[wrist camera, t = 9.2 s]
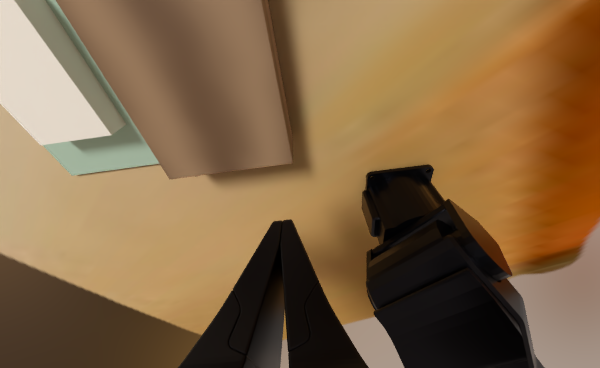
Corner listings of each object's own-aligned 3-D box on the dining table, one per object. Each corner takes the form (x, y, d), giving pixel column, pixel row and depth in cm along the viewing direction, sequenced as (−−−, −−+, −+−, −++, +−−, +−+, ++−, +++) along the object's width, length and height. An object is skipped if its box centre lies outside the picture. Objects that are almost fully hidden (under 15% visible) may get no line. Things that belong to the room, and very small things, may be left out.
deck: (238, -166, 11) (215, -234, 8) (292, 138, 21) (292, 163, 18) (44, -119, 11) (-49, -164, 8) (187, 153, 21) (169, 179, 18)
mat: (35, -136, 11) (30, -139, 11) (190, 157, 22) (188, 159, 21) (-173, -85, 12) (-182, -87, 12) (74, 173, 23) (71, 175, 22)
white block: (-100, 0, 12) (-56, 0, 14) (40, 145, 18) (60, 133, 20) (0, -20, 12) (33, -17, 14) (111, 135, 18) (126, 124, 19)
